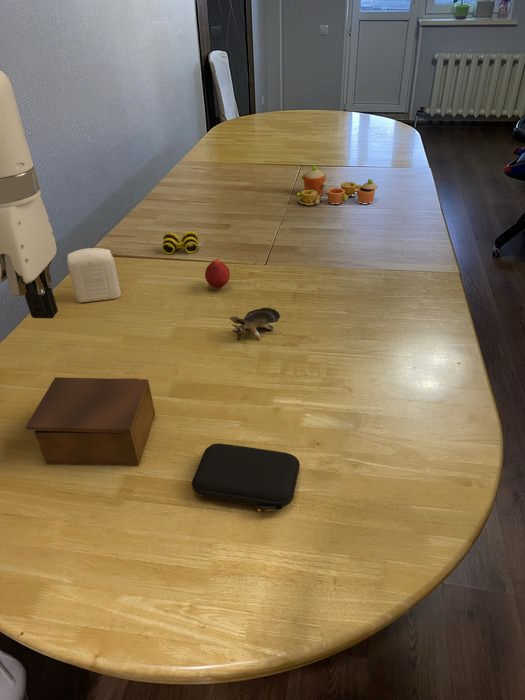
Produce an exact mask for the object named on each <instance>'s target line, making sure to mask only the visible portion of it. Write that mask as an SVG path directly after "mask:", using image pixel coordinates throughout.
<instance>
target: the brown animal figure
mask: <svg viewBox="0 0 525 700" xmlns="http://www.w3.org/2000/svg"><path fill="white" fill-rule="evenodd" d="M281 316H282V315H281V314H280V312H278V310H276V309H275V308H270V307H261V308H257V309H253V310H249V311H248V312H247V313H246V314H245V316H244V317H243V318H240V317H239V316H236V315H233V316H229V320H230V321H231V322H232V323H234V324H231V326H233V327H235V328H234V329H232V332H233V333H235V334H236V335H237V338H236V341H240V340H241V339H242V338H243V336H244V334H245V333H247V332H249V333H250V334H251V335H253V336H255V338H257V339H258V341H261V334H260V332H259V331H258V330H257V329H258V328H259V329H267V330H270V331H273V330H275V328H274V326H273V325H271V324H273V323H278V321H279V319H281Z"/></svg>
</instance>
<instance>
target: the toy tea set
mask: <svg viewBox="0 0 525 700" xmlns="http://www.w3.org/2000/svg"><path fill="white" fill-rule="evenodd" d="M301 179H302V180H303V185H304V189H303V190H302V191H301V192H297V193H296V195H295V197H296V198H299V199H298V203H299V202H300V203H299V204H301V203H302V204H301V205H303V204H305V205H304V206H314V204H315V205H319V204H320V200H321V198H322V195H323V194H324V188H325V187H327V182H326V174H325V173H324V172H322V171H321V170H320V169H318V167H317V166H316V165H313V166H312V168H311V169H310V170H308V171H306V173H304V174H301ZM378 188H379V187H378V185H377V184H376V183H374V182H373V179H372V178H369V179H368V180H367V182H365V183H363V184H362V185H361V184H357V183H356V182H353V181H344V182H341V184H340V187H334V188H333V187H332V188H328V189H327V192H326V193H325V194H326V196H327V200H328V203H329V202H330V203H335V204H336V203H342V202H343V203H344V201H347V200H348V199H349V197H348V196H352V194H353V195H356V194H357V195H356V196H357V202H358V201H359V202H361V203H369V202H372V203H373V201H374V198H375V193H376V190H377V189H378ZM355 192H357V193H356V194H355ZM322 193H323V194H322ZM320 194H322V195H321V196H317V195H320ZM345 194H346V195H345ZM330 203H329V204H330ZM343 203H342V204H343Z"/></svg>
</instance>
